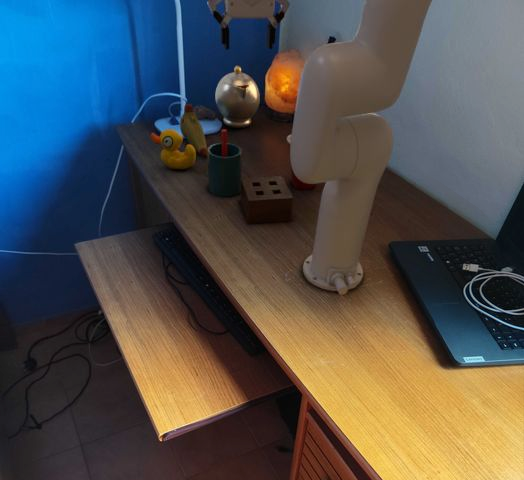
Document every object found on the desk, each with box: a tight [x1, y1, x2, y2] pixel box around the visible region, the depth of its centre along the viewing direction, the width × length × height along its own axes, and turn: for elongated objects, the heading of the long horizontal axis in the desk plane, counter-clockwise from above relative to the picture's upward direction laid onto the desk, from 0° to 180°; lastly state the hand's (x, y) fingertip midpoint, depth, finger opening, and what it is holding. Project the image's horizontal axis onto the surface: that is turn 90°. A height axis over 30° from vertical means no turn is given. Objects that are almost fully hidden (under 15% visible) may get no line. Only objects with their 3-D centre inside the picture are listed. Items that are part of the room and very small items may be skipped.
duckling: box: [150, 128, 197, 170], centre depth 123 cm, size 11×5×10 cm, turn 86°
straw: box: [221, 128, 228, 157], centre depth 115 cm, size 1×1×14 cm
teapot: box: [214, 65, 261, 129], centre depth 143 cm, size 18×14×16 cm
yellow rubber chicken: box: [179, 103, 208, 157], centre depth 133 cm, size 20×5×10 cm, turn 24°
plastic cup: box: [286, 133, 315, 190], centre depth 119 cm, size 11×11×12 cm
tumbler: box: [207, 142, 243, 198], centre depth 116 cm, size 8×8×10 cm
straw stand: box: [240, 175, 294, 225], centre depth 111 cm, size 10×10×6 cm
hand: (248, 47), depth 103 cm, fingers open, 9 cm apart
